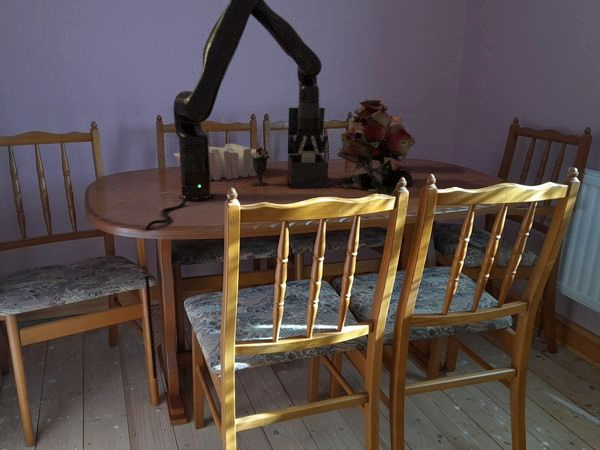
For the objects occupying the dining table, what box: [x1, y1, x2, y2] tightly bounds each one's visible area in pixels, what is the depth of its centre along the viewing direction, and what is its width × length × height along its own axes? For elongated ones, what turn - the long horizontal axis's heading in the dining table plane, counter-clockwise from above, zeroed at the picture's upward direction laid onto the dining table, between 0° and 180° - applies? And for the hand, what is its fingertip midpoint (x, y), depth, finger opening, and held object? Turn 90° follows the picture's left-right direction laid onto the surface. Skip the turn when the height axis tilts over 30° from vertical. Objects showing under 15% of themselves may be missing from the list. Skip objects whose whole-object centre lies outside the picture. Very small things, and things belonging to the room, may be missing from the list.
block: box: [301, 151, 315, 162], centre depth 190 cm, size 5×5×5 cm
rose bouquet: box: [336, 98, 416, 195], centre depth 190 cm, size 26×29×30 cm
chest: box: [287, 153, 329, 189], centre depth 194 cm, size 17×13×9 cm
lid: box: [287, 107, 326, 155], centre depth 198 cm, size 18×13×5 cm
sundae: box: [251, 143, 270, 187], centre depth 190 cm, size 7×7×15 cm
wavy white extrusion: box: [173, 143, 259, 182], centre depth 205 cm, size 35×16×11 cm, turn 119°
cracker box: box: [384, 116, 403, 170], centre depth 217 cm, size 14×6×21 cm, turn 165°
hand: (307, 164), depth 190 cm, fingers closed on block, 4 cm apart
